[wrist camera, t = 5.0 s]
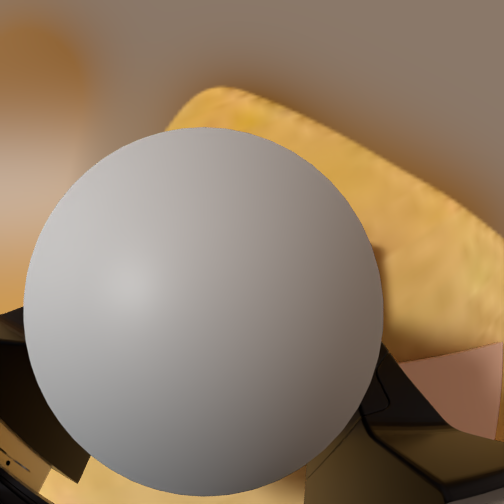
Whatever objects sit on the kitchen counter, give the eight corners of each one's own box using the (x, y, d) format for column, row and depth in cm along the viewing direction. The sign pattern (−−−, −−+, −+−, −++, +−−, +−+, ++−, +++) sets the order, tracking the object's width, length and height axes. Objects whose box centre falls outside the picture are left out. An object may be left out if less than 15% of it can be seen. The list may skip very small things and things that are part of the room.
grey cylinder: (296, 367, 15) (375, 489, 2) (208, 368, 15) (33, 451, 3) (294, 280, 16) (355, 122, 4) (207, 282, 16) (50, 154, 4)
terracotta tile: (484, 465, 11) (488, 468, 11) (365, 503, 12) (368, 508, 11) (497, 341, 14) (502, 341, 13) (375, 365, 14) (379, 366, 14)
